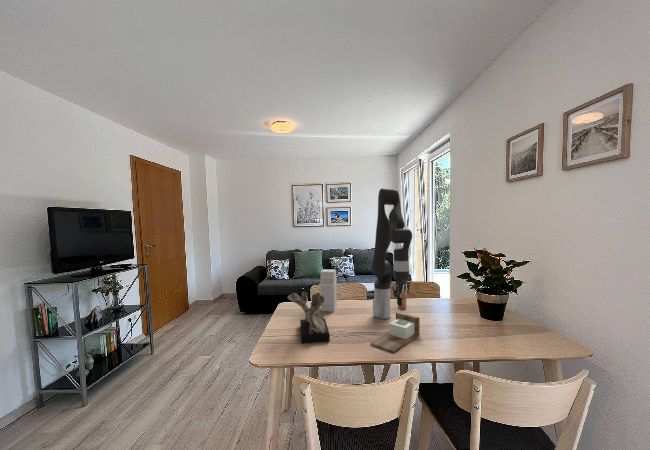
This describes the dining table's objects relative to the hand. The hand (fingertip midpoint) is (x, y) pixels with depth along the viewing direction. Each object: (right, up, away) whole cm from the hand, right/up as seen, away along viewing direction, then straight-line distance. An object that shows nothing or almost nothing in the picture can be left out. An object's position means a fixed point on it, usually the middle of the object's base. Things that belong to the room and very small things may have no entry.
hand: (401, 303), depth 139 cm
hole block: (0, -15, 0) cm, 15 cm away
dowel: (0, -3, 0) cm, 3 cm away
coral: (-46, -17, +4) cm, 50 cm away
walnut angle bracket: (-4, -16, -4) cm, 17 cm away
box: (-35, -16, +43) cm, 58 cm away
